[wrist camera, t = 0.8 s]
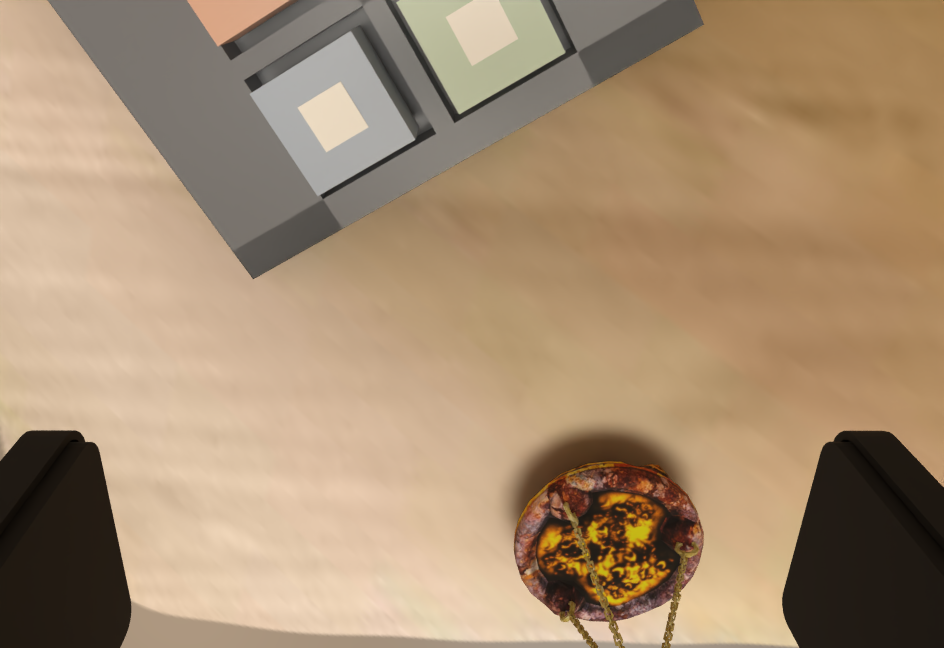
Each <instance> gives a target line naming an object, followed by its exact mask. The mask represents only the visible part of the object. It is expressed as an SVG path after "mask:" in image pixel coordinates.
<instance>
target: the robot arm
mask: <svg viewBox="0 0 944 648" xmlns="http://www.w3.org/2000/svg"><path fill="white" fill-rule="evenodd" d="M782 606H783V613H784V617H785V620H786V622H787V625H788V627H789V629H790V631H791V633H792V634H793V636H794V638H795V640H796V642H797V644H798V646H799V648H944V487H943V486H942V485H941V484H940V483H939V482H938V481H937V480H936V479H935V478H934V477H933V476H932V475H931V474H930V473H929V472H928V471H927V470H926V468H925V467H924V466H923V465H922V464H921V463H920V462H919V461H918V460H917V459H916V458H915V457H914V456H913V455H912V454H911V453H910V452H909V451H908V449H907V448H906V447H905V446H904V445H903V444H902V443H901V442H900V441H899V440H898V439H897V438H896V437H895V436H894V435H893V434H891V433H890V432H886V431H843V432H840V433H839V434H838V435H837V436H836V437H835V439H834V442H828V443H826V444H825V445H824V446H823V448H822V451H821V454H820V458H819V461H818V465H817V469H816V472H815V476H814V480H813V484H812V487H811V491H810V495H809V498H808V502H807V506H806V510H805V513H804V517H803V521H802V525H801V528H800V532H799V536H798V539H797V543H796V547H795V551H794V554H793V558H792V562H791V565H790V569H789V573H788V577H787V580H786V584H785V588H784V592H783V597H782ZM130 618H131V599H130V595H129V590H128V585H127V580H126V576H125V571H124V566H123V561H122V557H121V552H120V547H119V542H118V538H117V533H116V528H115V523H114V519H113V514H112V509H111V504H110V500H109V495H108V490H107V485H106V481H105V476H104V471H103V466H102V461H101V457H100V452H99V449H98V447H97V445H96V444H95V443H93V442H85V440H84V437H83V436H82V434H81V433H80V432H78V431H28V432H26V433H25V434H23V435H22V436H21V437H20V438H19V440H18V441H17V442H16V443H15V444H14V445H13V447H12V448H11V449H10V450H9V451H8V453H7V454H6V455H5V456H4V457H3V459H2V460H1V461H0V648H120V647H121V645H122V642H123V640H124V638H125V636H126V633H127V631H128V627H129V623H130Z"/></svg>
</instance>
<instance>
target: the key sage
mask: <svg viewBox="0 0 944 648" xmlns="http://www.w3.org/2000/svg"><path fill="white" fill-rule="evenodd" d="M396 3H397V5H398V7H399V8H400V10H401V12H402V14H403V15H404V17H405V19H406V21H407V23H408V24H409V26H410V28H411V30H412V31H413V33H414V35H415V37H416V39H417V40H418V42H419V44H420V46H421V48H422V49H423V51H424V53H425V55H426V56H427V58H428V60H429V62H430V64H431V65H432V67H433V69H434V71H435V72H436V74H437V76H438V78H439V80H440V81H441V83H442V85H443V87H444V88H445V90H446V92H447V94H448V96H449V97H450V99H451V101H452V103H453V105H454V106H455V108H456V110H457V112H458V113H459V114H461V113H462V112H464V111H466V110H468V109H469V108H471V107H473V106H475V105H476V104H478V103H480V102H481V101H483V100H485V99H487V98H488V97H490V96H492V95H494V94H495V93H497V92H499V91H500V90H502V89H504V88H506V87H507V86H509V85H511V84H513V83H514V82H516V81H518V80H519V79H521V78H523V77H525V76H526V75H528V74H530V73H532V72H533V71H535V70H537V69H538V68H540V67H542V66H544V65H545V64H547V63H549V62H550V61H552V60H554V59H556V58H557V57H559V56H561V55H563V54H564V53H566V52H565V50H564V48H563V46H562V44H561V42H560V40H559V38H558V36H557V34H556V32H555V30H554V28H553V26H552V24H551V22H550V20H549V18H548V16H547V13H546V11H545V9H544V7H543V5H542V3H541V1H540V0H399V1H398V2H396Z"/></svg>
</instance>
